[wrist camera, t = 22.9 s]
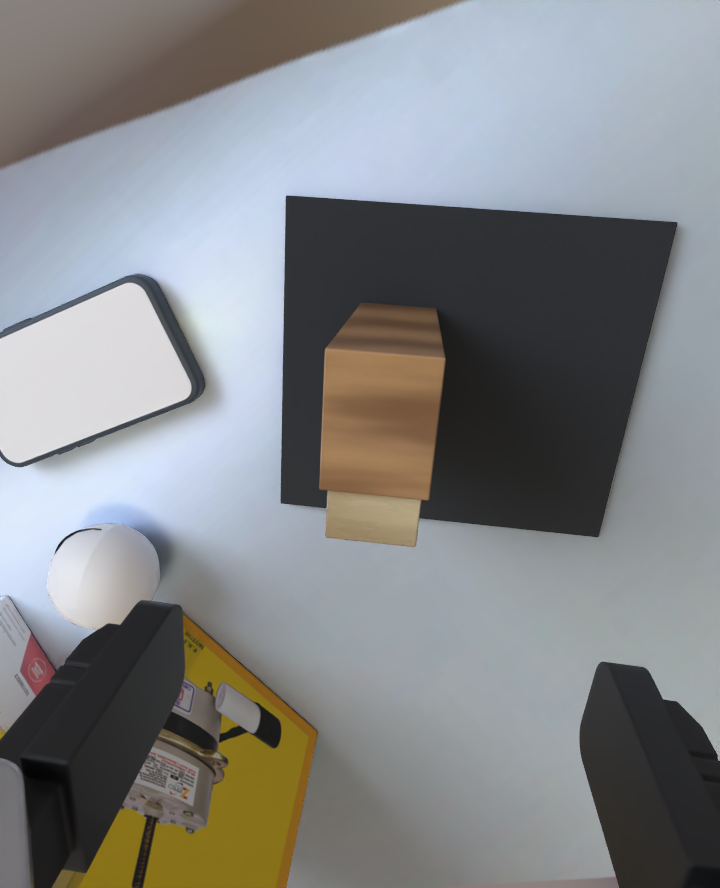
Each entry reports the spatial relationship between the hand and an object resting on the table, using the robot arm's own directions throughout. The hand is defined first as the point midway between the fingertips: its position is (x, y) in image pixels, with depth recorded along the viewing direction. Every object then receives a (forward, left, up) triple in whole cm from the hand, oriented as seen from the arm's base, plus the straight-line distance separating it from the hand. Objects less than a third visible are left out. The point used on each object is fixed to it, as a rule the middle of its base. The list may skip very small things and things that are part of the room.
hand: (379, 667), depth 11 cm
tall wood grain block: (+1, +5, -19) cm, 20 cm away
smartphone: (+22, +3, -27) cm, 35 cm away
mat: (-3, +1, -27) cm, 27 cm away
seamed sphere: (+21, +17, -27) cm, 38 cm away
